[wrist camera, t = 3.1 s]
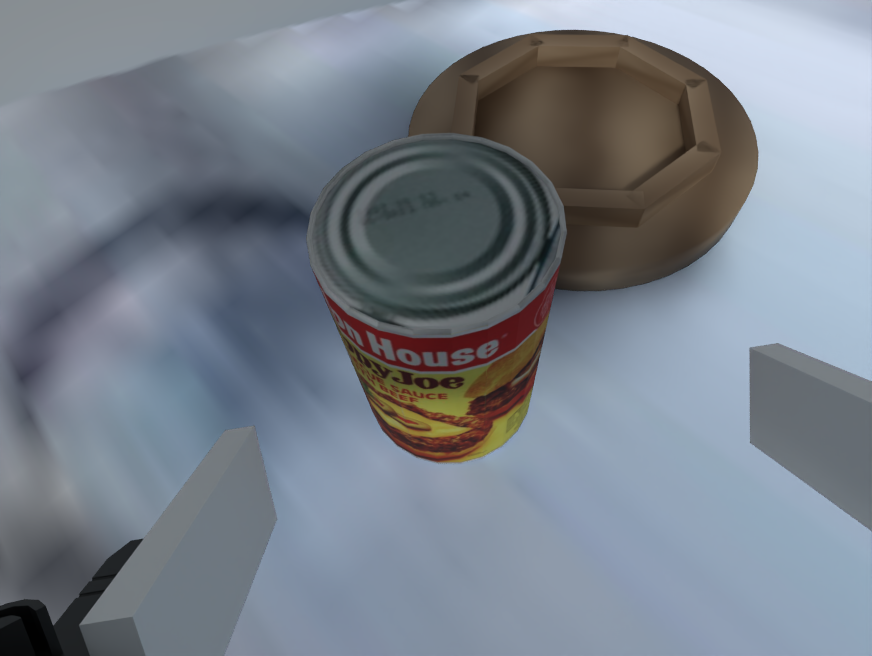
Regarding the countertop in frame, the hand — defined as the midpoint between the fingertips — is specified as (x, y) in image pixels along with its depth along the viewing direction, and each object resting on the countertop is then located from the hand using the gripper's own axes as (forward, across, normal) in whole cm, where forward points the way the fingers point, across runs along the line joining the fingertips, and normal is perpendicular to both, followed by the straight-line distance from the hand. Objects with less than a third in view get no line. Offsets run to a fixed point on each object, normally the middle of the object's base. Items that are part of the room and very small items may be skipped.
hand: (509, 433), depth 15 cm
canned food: (+12, -1, -3) cm, 13 cm away
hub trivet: (+22, +9, +7) cm, 25 cm away
